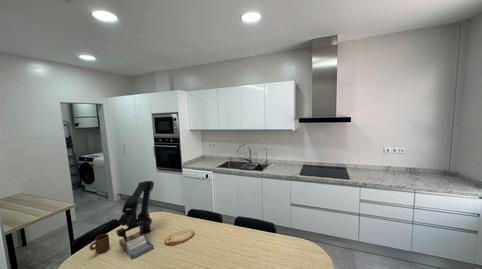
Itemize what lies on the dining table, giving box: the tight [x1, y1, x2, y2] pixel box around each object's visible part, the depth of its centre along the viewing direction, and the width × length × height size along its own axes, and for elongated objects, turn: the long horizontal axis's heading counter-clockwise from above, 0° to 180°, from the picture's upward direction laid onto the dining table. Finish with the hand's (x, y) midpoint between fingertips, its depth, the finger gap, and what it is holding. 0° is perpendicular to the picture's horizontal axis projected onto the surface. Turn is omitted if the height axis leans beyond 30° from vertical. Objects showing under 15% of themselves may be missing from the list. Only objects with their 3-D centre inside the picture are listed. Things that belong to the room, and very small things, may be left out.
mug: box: [89, 233, 110, 255], centre depth 128 cm, size 12×8×9 cm, turn 165°
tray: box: [125, 238, 155, 260], centre depth 130 cm, size 13×12×3 cm
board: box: [119, 231, 148, 252], centre depth 138 cm, size 14×12×3 cm
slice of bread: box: [163, 229, 195, 246], centre depth 142 cm, size 18×18×4 cm
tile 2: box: [128, 240, 147, 252], centre depth 132 cm, size 11×4×2 cm, turn 137°
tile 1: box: [126, 236, 145, 248], centre depth 133 cm, size 11×4×2 cm, turn 137°
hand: (133, 239), depth 136 cm, fingers open, 9 cm apart
